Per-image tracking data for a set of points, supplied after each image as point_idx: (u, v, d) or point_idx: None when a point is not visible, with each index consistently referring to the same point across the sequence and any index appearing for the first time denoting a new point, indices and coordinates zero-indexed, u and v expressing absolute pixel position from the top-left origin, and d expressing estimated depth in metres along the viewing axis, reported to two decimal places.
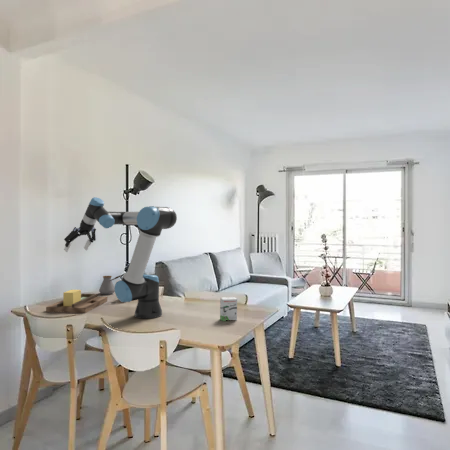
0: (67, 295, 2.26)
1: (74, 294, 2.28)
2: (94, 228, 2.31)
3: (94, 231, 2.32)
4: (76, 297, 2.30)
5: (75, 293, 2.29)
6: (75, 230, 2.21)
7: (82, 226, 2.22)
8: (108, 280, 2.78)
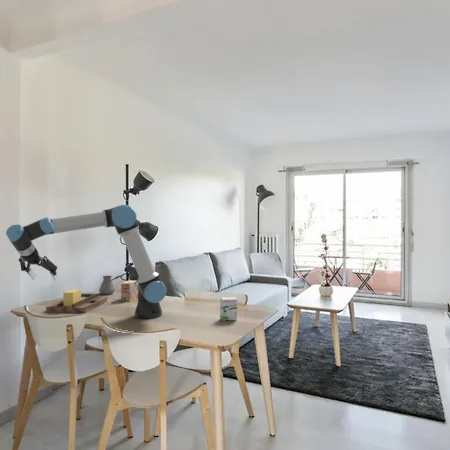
0: (67, 295, 2.26)
1: (74, 294, 2.28)
2: (21, 256, 1.91)
3: None
4: (76, 297, 2.30)
5: (75, 293, 2.29)
6: (46, 258, 1.91)
7: None
8: (108, 280, 2.78)
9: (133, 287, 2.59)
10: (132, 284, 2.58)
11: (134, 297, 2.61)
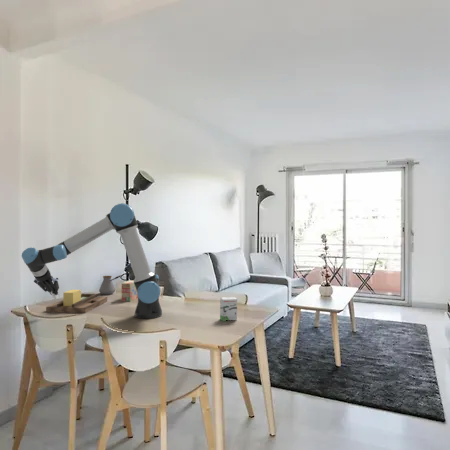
0: (67, 295, 2.26)
1: (74, 294, 2.28)
2: (35, 278, 2.04)
3: None
4: (76, 297, 2.30)
5: (75, 293, 2.29)
6: (57, 280, 2.04)
7: None
8: (108, 280, 2.78)
9: (133, 287, 2.60)
10: (132, 284, 2.58)
11: (134, 297, 2.61)
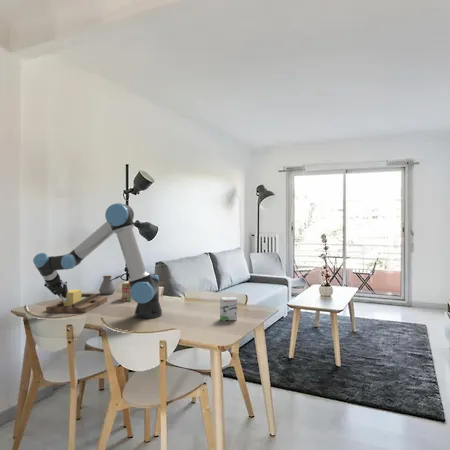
0: (67, 295, 2.27)
1: (74, 294, 2.28)
2: (45, 282, 2.15)
3: None
4: (76, 297, 2.31)
5: (75, 293, 2.29)
6: (66, 283, 2.15)
7: None
8: (108, 280, 2.78)
9: None
10: None
11: None
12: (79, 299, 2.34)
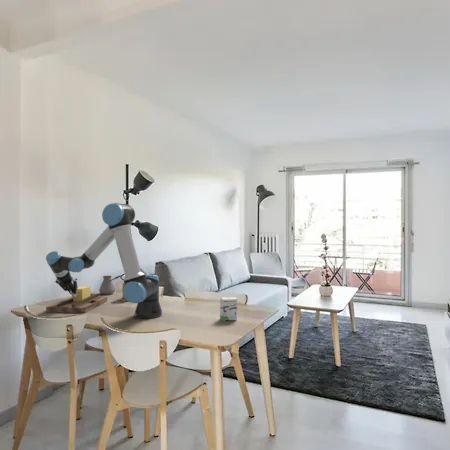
0: (76, 291, 2.38)
1: (83, 290, 2.39)
2: (56, 279, 2.26)
3: None
4: (85, 293, 2.42)
5: (84, 289, 2.41)
6: (76, 280, 2.26)
7: None
8: (108, 280, 2.78)
9: None
10: None
11: None
12: (88, 295, 2.45)
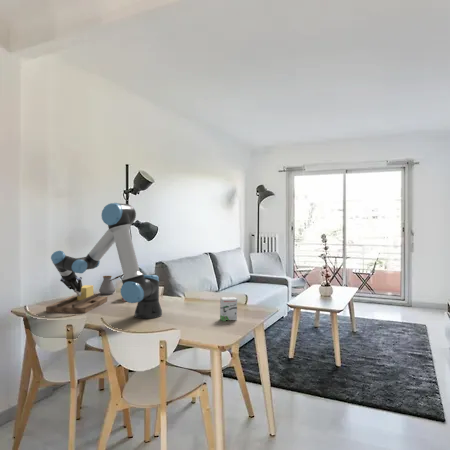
0: None
1: (87, 289, 2.44)
2: None
3: None
4: (89, 292, 2.46)
5: (88, 288, 2.45)
6: None
7: None
8: (108, 280, 2.78)
9: None
10: None
11: None
12: (91, 294, 2.50)
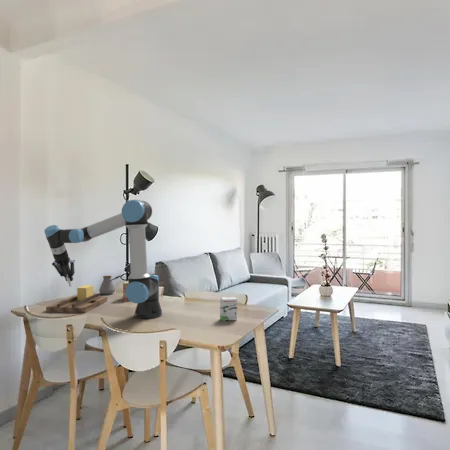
0: (80, 290, 2.42)
1: (87, 289, 2.44)
2: None
3: None
4: (89, 292, 2.46)
5: (88, 288, 2.45)
6: None
7: None
8: (108, 280, 2.78)
9: None
10: None
11: None
12: (91, 294, 2.50)
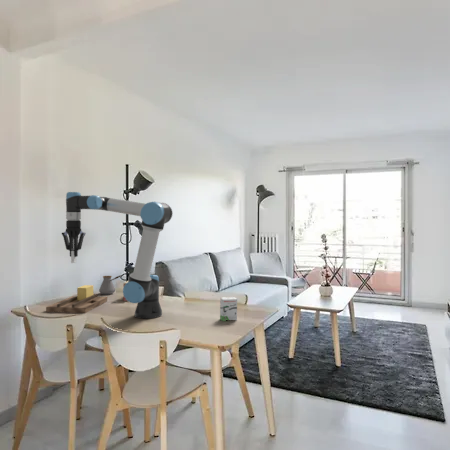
0: (80, 290, 2.42)
1: (87, 289, 2.44)
2: None
3: None
4: (89, 292, 2.46)
5: (88, 288, 2.45)
6: (84, 234, 2.12)
7: None
8: (108, 280, 2.78)
9: None
10: None
11: None
12: (91, 294, 2.50)
